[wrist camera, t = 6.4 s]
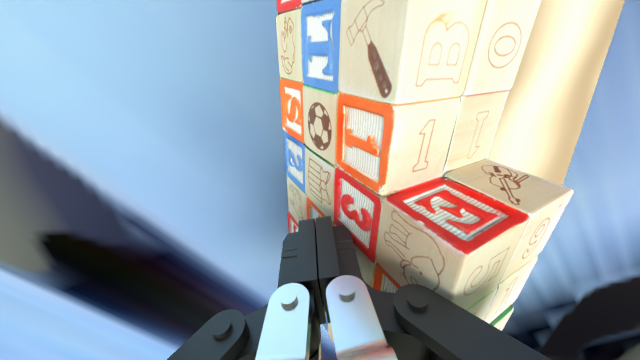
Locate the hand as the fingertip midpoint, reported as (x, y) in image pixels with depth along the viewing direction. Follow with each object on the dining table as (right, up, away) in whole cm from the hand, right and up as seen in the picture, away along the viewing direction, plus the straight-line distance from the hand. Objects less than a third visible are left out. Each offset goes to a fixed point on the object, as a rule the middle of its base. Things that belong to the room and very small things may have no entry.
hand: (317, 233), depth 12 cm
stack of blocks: (0, +5, +6) cm, 8 cm away
